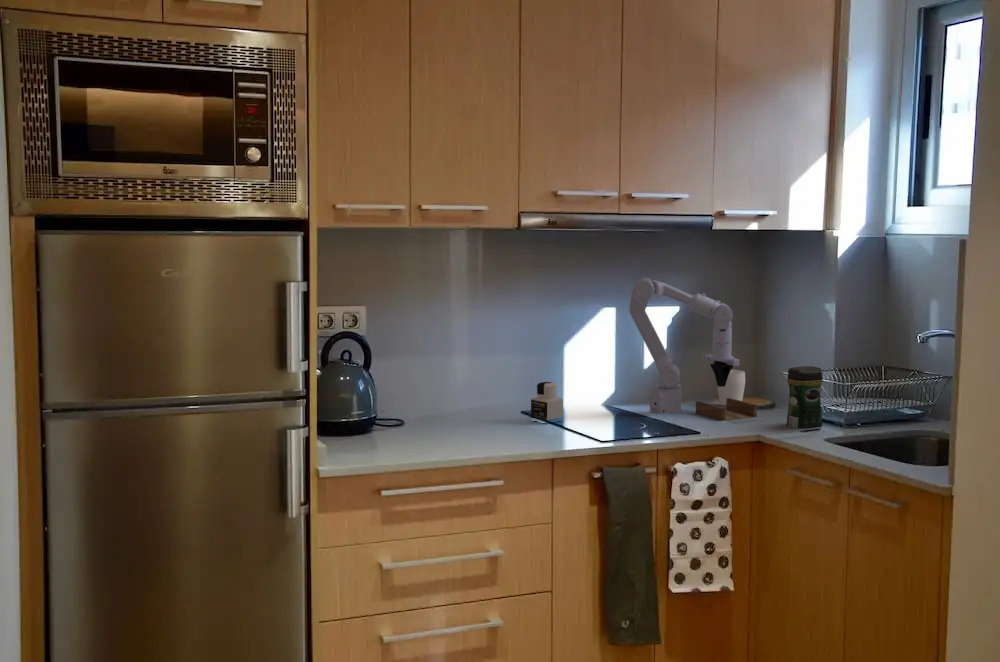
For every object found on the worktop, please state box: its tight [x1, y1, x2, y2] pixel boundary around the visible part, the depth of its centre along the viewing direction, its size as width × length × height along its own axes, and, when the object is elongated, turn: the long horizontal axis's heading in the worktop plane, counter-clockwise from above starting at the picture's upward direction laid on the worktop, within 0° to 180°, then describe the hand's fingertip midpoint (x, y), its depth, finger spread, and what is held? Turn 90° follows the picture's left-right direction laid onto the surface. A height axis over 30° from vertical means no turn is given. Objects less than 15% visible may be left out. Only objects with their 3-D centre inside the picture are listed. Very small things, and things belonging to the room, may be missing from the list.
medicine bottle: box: [530, 381, 564, 420], centre depth 300 cm, size 7×7×12 cm
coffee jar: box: [786, 365, 824, 433], centre depth 284 cm, size 10×8×19 cm
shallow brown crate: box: [695, 398, 758, 422], centre depth 301 cm, size 13×13×5 cm
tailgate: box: [724, 416, 766, 425], centre depth 293 cm, size 11×1×5 cm
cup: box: [717, 369, 746, 407], centre depth 319 cm, size 9×9×12 cm
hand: (721, 386), depth 306 cm, fingers closed
